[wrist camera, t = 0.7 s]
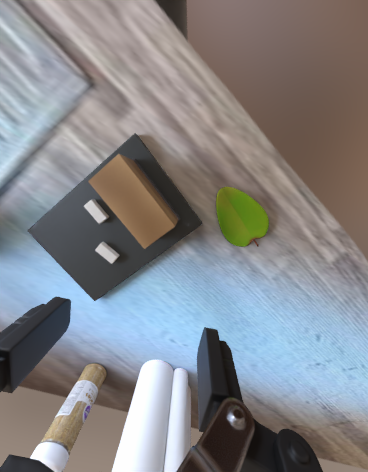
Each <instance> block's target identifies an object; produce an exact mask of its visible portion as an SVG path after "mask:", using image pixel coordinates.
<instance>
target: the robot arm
mask: <svg viewBox="0 0 368 472" xmlns="http://www.w3.org/2000/svg"><path fill="white" fill-rule="evenodd" d="M70 310H71V301H70V299H65V298H60V297H54V298H53V299H52V300H50V301H49V302H48V303H47V304H41V305H39V306H37V307H35V308H32V309H31V310H29V311H28V312H27V313H25V314H24V315H23V316H22V317H20V318H19V319H17V320H16V321H15V322H14V323H12V324H11V325H10V326H8V327H7V328H6V329H4V330H3V331H2V332H0V392H1V391H3V392H8V393H12V392H13V391H14V390H15V389H16V388H17V387H18V386H19V384H20V383H21V382H22V381H23V380H24V379H25V378H26V376H27V375H28V374H29V373H30V372H31V371H32V370H33V368H34V367H35V366H36V365H37V364H38V363H39V362H40V360H41V359H42V358H43V357H44V356H45V355H46V354H47V352H48V351H49V350H50V349H51V348H52V347H53V346H54V344H55V343H56V342H57V341H58V340H59V339H60V338H61V336H62V335H63V334H64V333H65V332H66V330H67V328H68V326H69V323H70ZM197 373H198V409H199V431H200V432H203V434H202V436H201V437H200V439H199V441H198V442H197V444H196V445H195V446H193V447H192V448H191V449H190V450H189V452H188V454H187V455H186V457H185V458H184V460H183V462H182V463H181V465H180V466H179V468H178V470H177V471H176V472H323V471H322V469H321V467H320V464H319V461H318V459H317V457H316V455H315V453H314V451H313V449H312V448H311V447H310V445H309V444H308V443H307V442H306V440H305V439H304V438H303V437H301V436H300V435H299V434H298V433H296V432H295V431H293V430H290V429H282V430H281V431H280V432H279V433H278V434H276V433H275V432H273V431H271V430H270V429H268V428H266V427H265V426H263V425H261V424H260V423H258V422H257V421H256V420H255V419H254V418H253V417H252V414H251V412H250V411H249V409H248V408H247V407H246V405H245V404H244V403H243V400H242V396H241V392H240V387H239V383H238V379H237V375H236V370H235V366H234V362H233V358H232V353H231V350H230V348H229V346H228V345H227V343H226V342H225V341H220V340H219V335H218V331H217V330H215V329H210V328H206V327H205V328H204V330H203V333H202V337H201V341H200V344H199V348H198V354H197ZM0 472H54V471H53V470H52V469H50V468H49V467H48V466H46V465H45V464H43V463H42V462H41V461H39V460H36V459H30V458H25V457H20V456H14V455H9V456H8V457H7V459H6V460H5V462H4V463H3V465H2V466H1V467H0Z"/></svg>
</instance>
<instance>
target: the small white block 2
mask: <svg viewBox="0 0 368 472" xmlns="http://www.w3.org/2000/svg"><path fill="white" fill-rule="evenodd" d="M95 251H96V252H98V253H99V254H100V255H101V256H103V257H104V258H105V259H106V260H107V261H109V262H110V263H111V264H112V263H113V262H114V261H115V260H116V259H117V258H118V257H119V256H120V255H119V254H118V253H117V252H115V251H114V250H113V249H112V248H111V247H109V246H108V245H107V244H106V243H105V242H102V243H100V245H99V246H98V247H97V248H96V249H95Z"/></svg>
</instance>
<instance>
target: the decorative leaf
mask: <svg viewBox="0 0 368 472" xmlns="http://www.w3.org/2000/svg"><path fill="white" fill-rule="evenodd" d="M216 209H217V216H218V221H219V224H220V228H221V230H222V233H223V234H224V236H225V238H226V239H227V240H228V241H229V242H230V243H232V244H233V245H236V246H240V247H245V246H247V245H249V244H250V243H251V242H252V241H253V240H254V239H258V238H261V237H263V236H265V234H266V233H267V230H268V227H269V219H268V216H267V214H266V212H265V210H264V209H263V208H262V207H261V206H260V205H259V204H258V203H257V202H256V201H255V200H254V199H253V198H251V197H250V196H248V195H247V194H245V193H244V192H242V191H240V190H238V189H235V188H232V187H223V188H221V189H220V190H219V192H218V194H217V198H216ZM254 242H255V243H256V241H255V240H254ZM256 245H257V246H258V244H257V243H256Z"/></svg>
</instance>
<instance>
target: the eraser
mask: <svg viewBox="0 0 368 472" xmlns="http://www.w3.org/2000/svg"><path fill="white" fill-rule="evenodd" d="M88 182H89V183H90V184H91V186H92V187H93V188H94V189H95V190H96V192H97V193H98V194H99V195H100V196H101V198H102V199H103V200H104V201H105V202H106V204H107V205H108V206H109V207H110V208H111V210H112V211H113V212H114V213H115V214H116V216H117V217H118V218H119V219H120V220H121V222H122V223H123V224H124V225H125V226H126V228H127V229H128V230H129V231H130V232H131V234H132V235H133V236H134V237H135V238H136V240H137V241H138V242H139V243H140V244H141V246H142V247H143V248H144V249H145V248H147V247H148V246H150V245H151V244H152V243H154V242H155V241H156V240H158V239H159V238H160V237H162V236H163V235H164V234H166V233H167V232H168V231H170V230H171V229H172V228H174V227H175V226H176V223H177V222H178V221H179V220H180V219H181V218H180V216H179V215H178V214H177V213H176V211H175V210H174V209H173V207H172V206H171V205H170V203H169V202H168V201H167V199H166V198H165V197H164V195H163V194H162V193H161V192H160V190H159V189H158V188H157V186H156V185H155V184H154V182H153V181H152V180H151V178H150V177H149V176H148V174H147V173H146V172H145V170H144V169H143V168H142V167H141V165H140V164H139V163H138V161H137V160H136V159H134V158H133V159H129V158H127V157H125V156H123V155H121V154H118V155H117V156H116V157H114V158H113V159H112V160H111V161H110V162H109V163H108V164H107V165H106V166H104V167H103V168H102V169H101V170H100V171H99V172H98V173H97V174H96V175H94V176H93V177H92V178H91V179H90V180H89V181H88Z"/></svg>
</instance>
